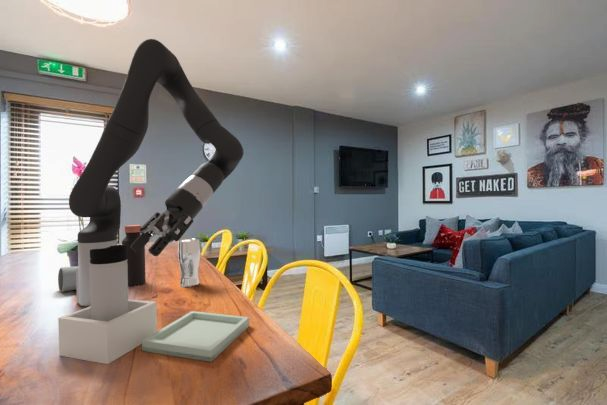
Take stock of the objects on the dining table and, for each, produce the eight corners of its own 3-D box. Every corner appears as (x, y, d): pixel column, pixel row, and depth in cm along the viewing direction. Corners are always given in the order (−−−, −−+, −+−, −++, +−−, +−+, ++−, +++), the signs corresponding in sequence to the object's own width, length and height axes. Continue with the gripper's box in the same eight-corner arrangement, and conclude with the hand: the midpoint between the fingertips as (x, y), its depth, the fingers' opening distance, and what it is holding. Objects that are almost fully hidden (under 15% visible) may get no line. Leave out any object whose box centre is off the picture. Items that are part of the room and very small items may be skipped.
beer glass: (193, 288, 95) (192, 241, 95) (173, 287, 97) (173, 241, 96) (204, 282, 102) (203, 238, 102) (186, 281, 103) (185, 238, 103)
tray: (142, 350, 56) (141, 340, 56) (192, 319, 71) (191, 311, 71) (211, 361, 52) (211, 350, 52) (249, 325, 67) (249, 317, 67)
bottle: (128, 281, 104) (127, 224, 103) (148, 281, 104) (147, 224, 104) (118, 287, 97) (117, 226, 97) (140, 286, 98) (138, 226, 97)
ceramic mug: (94, 288, 97) (94, 264, 97) (63, 294, 90) (62, 269, 90) (85, 283, 104) (84, 261, 104) (55, 288, 97) (54, 265, 97)
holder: (59, 355, 55) (58, 318, 55) (114, 328, 66) (113, 297, 66) (107, 364, 52) (106, 324, 52) (156, 334, 63) (156, 302, 63)
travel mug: (102, 356, 54) (99, 248, 54) (85, 347, 58) (83, 245, 58) (136, 342, 60) (134, 243, 59) (119, 334, 63) (117, 241, 63)
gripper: (164, 188, 75) (115, 238, 66) (197, 186, 66) (145, 244, 57) (184, 208, 79) (140, 258, 70) (217, 208, 70) (171, 266, 61)
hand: (142, 251), depth 64 cm, fingers open, 8 cm apart
